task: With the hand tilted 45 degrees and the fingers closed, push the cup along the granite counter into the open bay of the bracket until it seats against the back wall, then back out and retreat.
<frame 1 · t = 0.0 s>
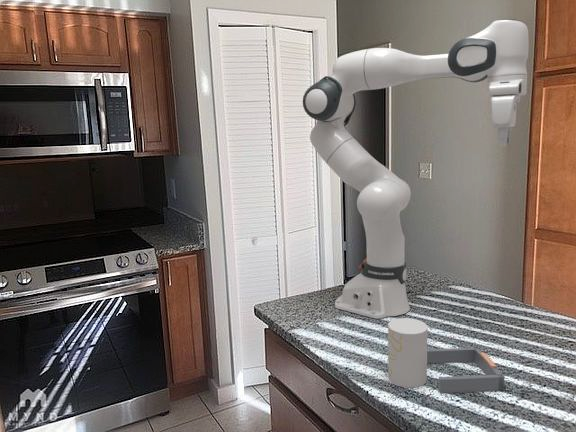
hand: (503, 145, 115), 48 cm above the worktop, tool pointing down, fingers open, 8 cm apart
bracket: (457, 375, 99), on the worktop
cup: (407, 378, 99), on the worktop
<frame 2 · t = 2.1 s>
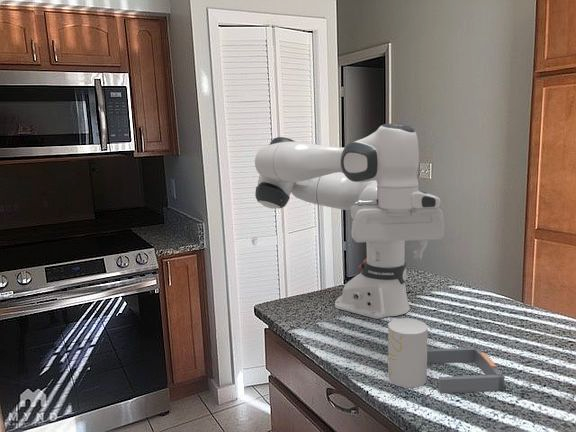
hand: (397, 259, 103), 24 cm above the worktop, tool pointing down, fingers open, 8 cm apart
nothing on the worktop moved.
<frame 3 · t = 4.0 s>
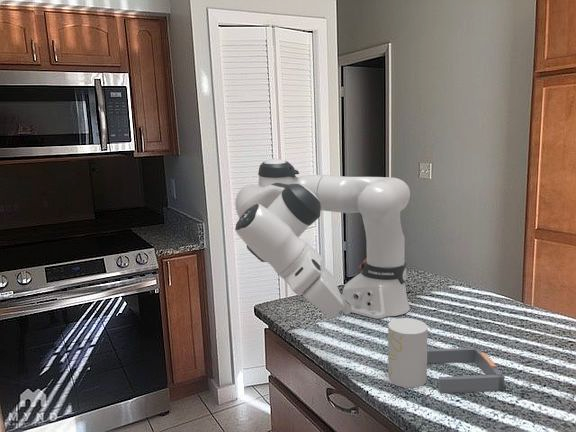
hand: (349, 310, 97), 16 cm above the worktop, tool tilted 45°, fingers closed
nothing on the worktop moved.
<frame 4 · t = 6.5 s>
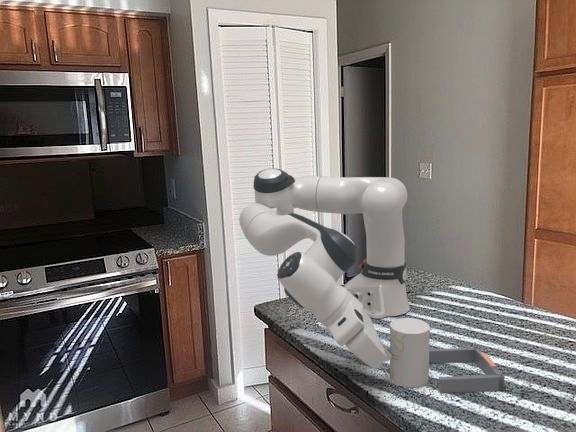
hand: (388, 355, 98), 6 cm above the worktop, tool tilted 45°, fingers closed
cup: (409, 378, 99), on the worktop, touching gripper
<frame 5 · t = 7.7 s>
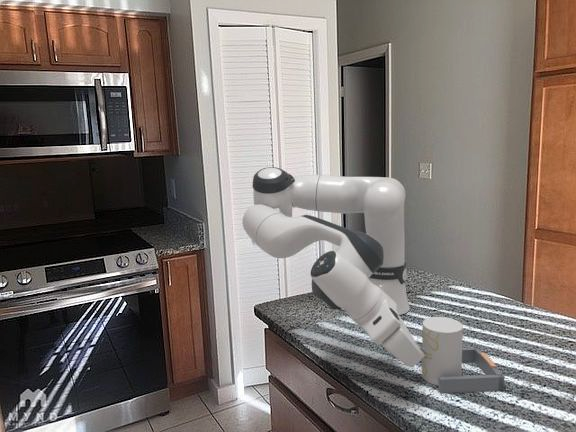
hand: (421, 354, 97), 6 cm above the worktop, tool tilted 45°, fingers closed
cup: (441, 377, 99), on the worktop, touching gripper
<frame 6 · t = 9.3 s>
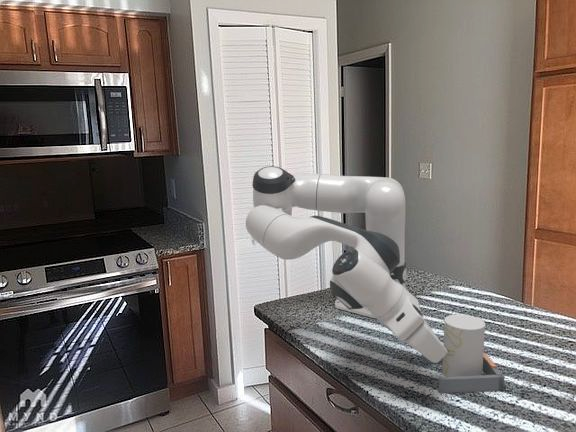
hand: (442, 351, 98), 6 cm above the worktop, tool tilted 45°, fingers closed
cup: (461, 374, 100), on the worktop, touching gripper
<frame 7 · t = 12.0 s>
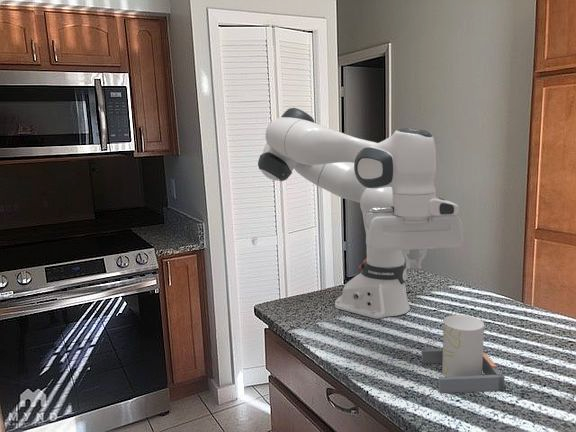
hand: (413, 268, 99), 23 cm above the worktop, tool pointing down, fingers closed
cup: (461, 374, 100), on the worktop
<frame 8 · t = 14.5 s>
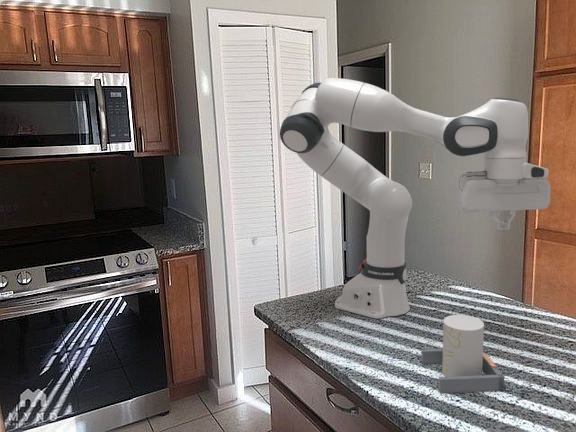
hand: (501, 229, 107), 29 cm above the worktop, tool pointing down, fingers closed
nothing on the worktop moved.
at the end: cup 1.3 cm from the bracket (horizontally); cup tilted 0°; the gripper is holding nothing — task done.
